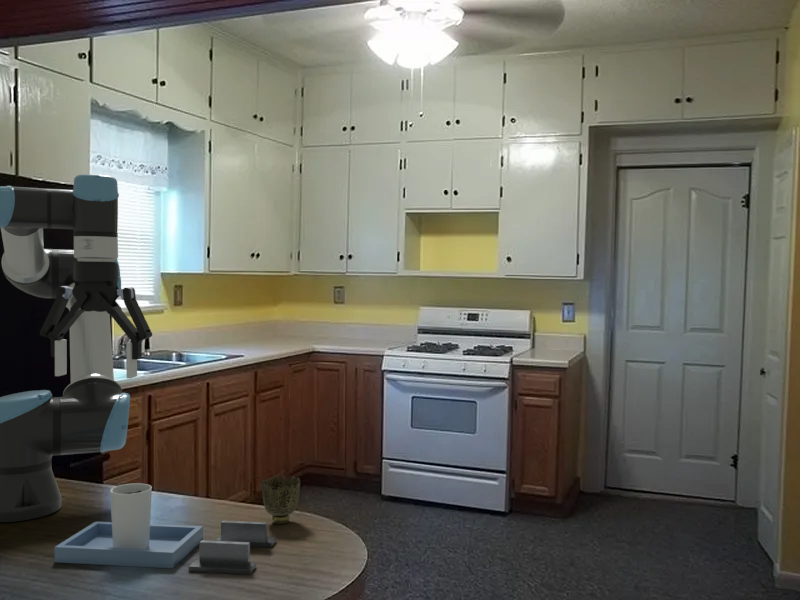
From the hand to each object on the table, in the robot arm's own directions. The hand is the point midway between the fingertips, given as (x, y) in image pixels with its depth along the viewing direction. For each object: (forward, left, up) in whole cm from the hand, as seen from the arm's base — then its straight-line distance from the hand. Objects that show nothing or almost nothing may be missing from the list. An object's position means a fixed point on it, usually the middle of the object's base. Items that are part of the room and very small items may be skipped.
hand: (96, 376), depth 137 cm
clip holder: (+10, +30, -28) cm, 42 cm away
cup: (-8, +33, -28) cm, 44 cm away
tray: (+10, +12, -28) cm, 32 cm away
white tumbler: (+10, +12, -28) cm, 32 cm away
